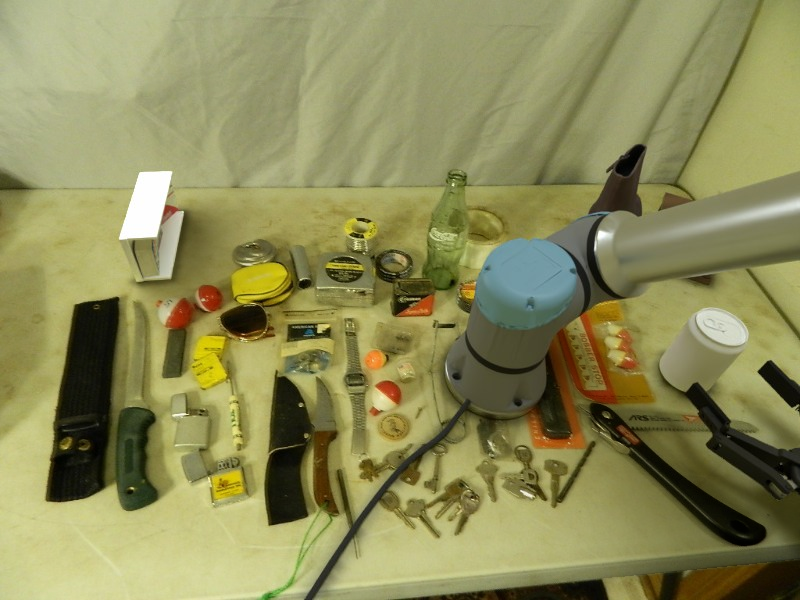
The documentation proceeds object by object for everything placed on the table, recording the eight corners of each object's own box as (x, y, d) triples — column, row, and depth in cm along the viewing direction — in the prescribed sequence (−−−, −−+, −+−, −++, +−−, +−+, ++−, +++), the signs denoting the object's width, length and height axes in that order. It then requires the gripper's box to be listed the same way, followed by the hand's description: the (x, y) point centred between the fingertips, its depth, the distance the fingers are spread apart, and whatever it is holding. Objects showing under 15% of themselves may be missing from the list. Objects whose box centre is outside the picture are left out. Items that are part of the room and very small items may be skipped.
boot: (649, 215, 113) (693, 129, 99) (606, 274, 99) (650, 184, 85) (610, 199, 116) (647, 113, 102) (564, 253, 103) (599, 163, 88)
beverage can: (707, 404, 80) (750, 357, 72) (653, 382, 83) (689, 333, 74) (712, 367, 86) (753, 318, 77) (661, 347, 88) (696, 297, 79)
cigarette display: (170, 279, 91) (156, 237, 84) (136, 281, 90) (118, 239, 83) (184, 208, 104) (173, 167, 97) (154, 210, 103) (141, 168, 96)
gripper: (759, 563, 62) (647, 412, 76) (904, 500, 69) (777, 371, 82) (799, 540, 57) (670, 382, 70) (952, 474, 63) (807, 341, 77)
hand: (728, 376), depth 76 cm, fingers open, 13 cm apart
